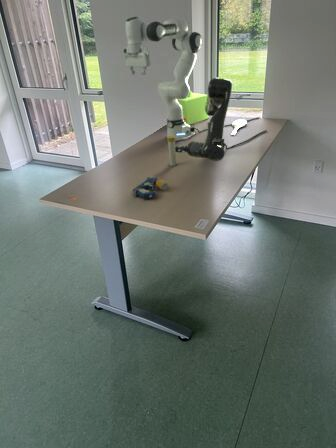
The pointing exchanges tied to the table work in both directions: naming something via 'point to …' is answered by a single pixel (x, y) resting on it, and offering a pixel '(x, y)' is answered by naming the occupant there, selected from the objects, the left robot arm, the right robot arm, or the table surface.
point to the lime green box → (194, 108)
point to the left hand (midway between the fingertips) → (138, 74)
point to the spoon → (238, 125)
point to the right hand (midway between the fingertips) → (184, 147)
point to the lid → (171, 138)
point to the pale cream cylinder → (172, 153)
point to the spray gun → (149, 187)
